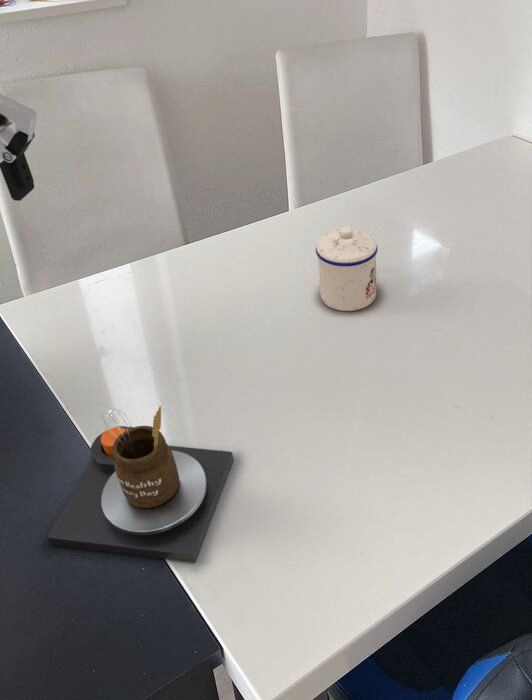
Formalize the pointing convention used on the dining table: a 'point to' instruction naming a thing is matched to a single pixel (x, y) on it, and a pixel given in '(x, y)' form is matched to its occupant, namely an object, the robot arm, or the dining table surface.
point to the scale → (99, 534)
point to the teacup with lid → (347, 269)
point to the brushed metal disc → (162, 515)
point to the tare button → (109, 442)
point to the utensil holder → (145, 464)
